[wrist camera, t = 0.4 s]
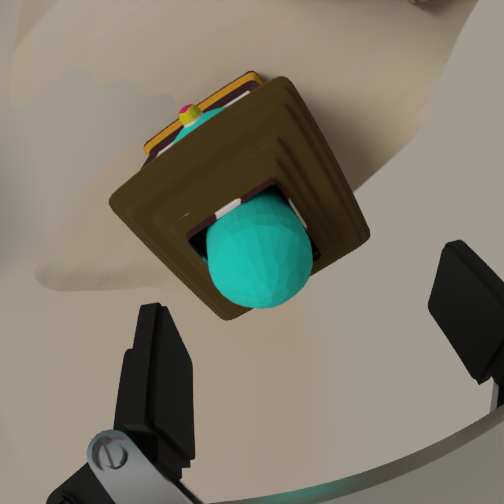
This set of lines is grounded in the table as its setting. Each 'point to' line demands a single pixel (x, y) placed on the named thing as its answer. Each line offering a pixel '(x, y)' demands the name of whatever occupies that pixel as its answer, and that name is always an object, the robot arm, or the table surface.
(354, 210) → the decorative lantern
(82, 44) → the table surface
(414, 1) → the crate
